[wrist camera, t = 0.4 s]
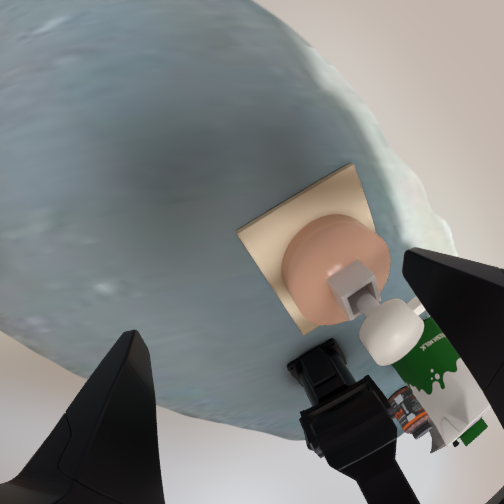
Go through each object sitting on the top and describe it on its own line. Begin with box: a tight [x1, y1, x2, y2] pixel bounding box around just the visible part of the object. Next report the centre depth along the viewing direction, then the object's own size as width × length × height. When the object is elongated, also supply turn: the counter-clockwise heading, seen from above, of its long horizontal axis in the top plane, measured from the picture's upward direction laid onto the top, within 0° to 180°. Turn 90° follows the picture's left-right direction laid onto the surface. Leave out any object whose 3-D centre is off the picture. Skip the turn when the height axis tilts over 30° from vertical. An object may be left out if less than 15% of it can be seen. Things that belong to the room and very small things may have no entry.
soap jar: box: [281, 214, 391, 325], centre depth 22 cm, size 9×9×6 cm
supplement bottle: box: [388, 387, 432, 439], centre depth 42 cm, size 6×6×11 cm
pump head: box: [357, 293, 425, 366], centre depth 17 cm, size 4×7×5 cm, turn 119°
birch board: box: [236, 163, 388, 335], centre depth 25 cm, size 14×11×1 cm
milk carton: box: [392, 317, 491, 446], centre depth 29 cm, size 9×9×20 cm
